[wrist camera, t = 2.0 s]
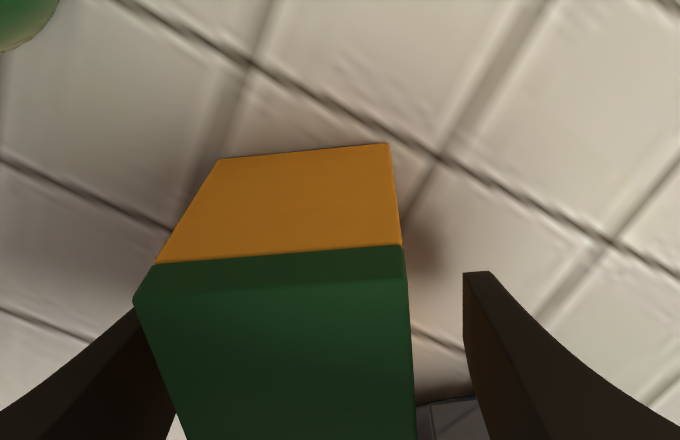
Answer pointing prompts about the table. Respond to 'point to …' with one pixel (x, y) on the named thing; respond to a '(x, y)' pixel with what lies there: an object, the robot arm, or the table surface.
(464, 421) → the bowl
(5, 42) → the soda can
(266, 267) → the sponge
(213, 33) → the table surface
